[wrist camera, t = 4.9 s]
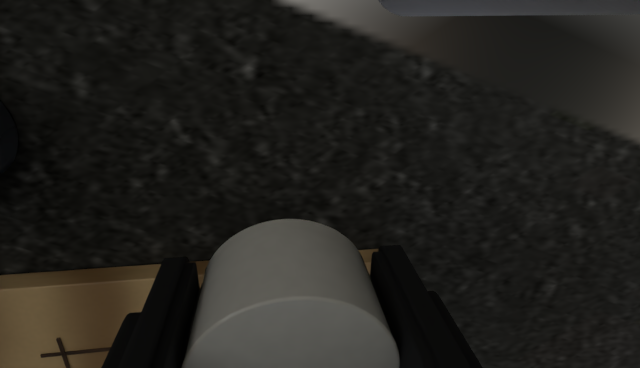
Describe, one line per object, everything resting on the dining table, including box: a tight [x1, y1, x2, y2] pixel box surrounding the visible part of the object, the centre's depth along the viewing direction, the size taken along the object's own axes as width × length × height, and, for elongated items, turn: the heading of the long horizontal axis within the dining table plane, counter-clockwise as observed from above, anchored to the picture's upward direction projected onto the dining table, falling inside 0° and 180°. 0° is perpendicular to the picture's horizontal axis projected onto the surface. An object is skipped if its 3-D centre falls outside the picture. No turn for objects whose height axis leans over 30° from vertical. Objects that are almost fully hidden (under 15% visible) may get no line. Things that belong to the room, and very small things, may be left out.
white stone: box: [181, 219, 400, 368], centre depth 9 cm, size 5×5×3 cm
